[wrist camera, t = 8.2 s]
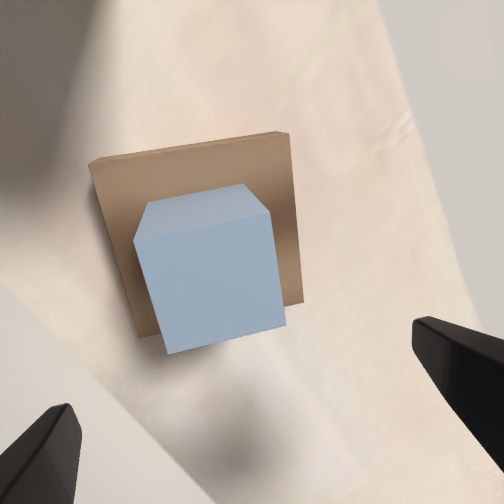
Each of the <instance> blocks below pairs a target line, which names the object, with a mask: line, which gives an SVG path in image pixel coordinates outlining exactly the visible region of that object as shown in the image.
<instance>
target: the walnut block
mask: <svg viewBox="0 0 504 504" xmlns="http://www.w3.org/2000/svg"><path fill="white" fill-rule="evenodd" d="M88 167H89V170H90V173H91V177H92V180H93V183H94V187H95V190H96V193H97V197H98V200H99V203H100V207H101V210H102V213H103V217H104V220H105V224H106V227H107V230H108V234H109V237H110V240H111V244H112V247H113V250H114V254H115V257H116V260H117V264H118V267H119V270H120V274H121V277H122V280H123V284H124V287H125V290H126V294H127V297H128V300H129V304H130V307H131V311H132V314H133V317H134V321H135V324H136V327H137V331H138V334H139V337H145V336H149V335H154V334H159V333H161V330H160V327H159V323H158V320H157V317H156V314H155V310H154V307H153V304H152V301H151V297H150V294H149V291H148V288H147V284H146V281H145V278H144V275H143V271H142V268H141V265H140V261H139V258H138V255H137V252H136V248H135V245H134V242H133V240H134V237H135V235H136V232H137V229H138V227H139V224H140V222H141V219H142V216H143V214H144V211H145V208H146V206H147V203H148V202H152V201H157V200H162V199H167V198H172V197H177V196H182V195H187V194H192V193H197V192H202V191H208V190H213V189H218V188H223V187H228V186H233V185H238V184H244V185H245V186H246V187H247V188H248V189H249V190H250V191H251V192H252V193H253V194H254V196H255V197H256V198H257V199H258V200H259V201H260V202H261V203H262V204H263V205H264V206H265V207H266V208H267V210H268V211H269V212H270V216H271V223H272V230H273V237H274V243H275V250H276V257H277V264H278V271H279V278H280V285H281V292H282V299H283V306H284V307H285V306H290V305H294V304H299V303H304V298H303V287H302V276H301V264H300V253H299V241H298V230H297V219H296V207H295V196H294V184H293V173H292V161H291V150H290V139H289V133H283V132H277V131H275V132H268V133H261V134H255V135H248V136H242V137H235V138H228V139H222V140H215V141H209V142H202V143H196V144H189V145H182V146H176V147H169V148H163V149H156V150H149V151H143V152H136V153H130V154H123V155H116V156H110V157H103V158H99V159H97V160H95V161H93V162H91V163H89V164H88Z"/></svg>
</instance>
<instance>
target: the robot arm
mask: <svg viewBox="0 0 504 504" xmlns="http://www.w3.org/2000/svg"><path fill="white" fill-rule="evenodd" d="M412 348H413V351H414V353H415V355H416V356H417V358H418V359H419V361H420V362H421V364H422V365H423V367H424V368H425V370H426V371H427V373H428V375H429V376H430V378H431V379H432V381H433V382H434V384H435V385H436V387H437V388H438V390H439V391H440V393H441V394H442V396H443V397H444V399H445V400H446V402H447V403H448V404H449V405H450V407H451V408H452V409H453V411H454V412H455V413H456V414H457V416H458V417H459V418H460V419H461V420H462V422H463V423H464V424H465V425H466V427H467V428H468V429H469V430H470V432H471V433H472V434H473V435H474V437H475V438H476V439H477V440H478V442H479V443H480V444H481V445H482V447H483V448H484V449H485V450H486V452H487V453H488V454H489V455H490V457H491V458H492V459H493V460H494V462H495V463H496V464H497V465H498V466H499V468H500V469H501V470H502V471H503V473H504V340H503V339H500V338H496V337H493V336H490V335H487V334H484V333H481V332H478V331H474V330H471V329H468V328H465V327H462V326H459V325H456V324H452V323H449V322H446V321H443V320H440V319H437V318H434V317H430V316H426V317H421V318H417V319H415V320H414V321H413V324H412ZM81 441H82V430H81V426H80V424H79V422H78V419H77V417H76V415H75V413H74V411H73V408H72V406H71V405H70V404H68V403H64V404H61V405H56V406H52V407H50V408H49V409H48V410H47V411H46V412H45V413H44V414H43V415H42V416H40V417H39V418H38V419H37V420H36V421H35V422H34V423H33V424H32V425H31V426H30V427H29V428H28V429H27V430H26V431H25V432H24V433H23V434H22V435H21V436H20V437H19V438H18V439H17V440H16V441H15V442H13V444H11V445H10V447H8V448H7V449H6V450H5V451H4V452H3V453H2V454H1V455H0V504H73V502H74V495H75V489H76V480H77V473H78V465H79V457H80V448H81Z"/></svg>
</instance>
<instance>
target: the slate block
mask: <svg viewBox="0 0 504 504" xmlns="http://www.w3.org/2000/svg"><path fill="white" fill-rule="evenodd" d="M133 242H134V245H135V248H136V252H137V255H138V258H139V261H140V265H141V268H142V271H143V275H144V278H145V281H146V284H147V288H148V291H149V294H150V297H151V301H152V304H153V307H154V310H155V314H156V317H157V320H158V323H159V327H160V330H161V333H162V336H163V340H164V343H165V346H166V350H167V353H168V355H169V354H173V353H177V352H181V351H185V350H189V349H193V348H197V347H201V346H205V345H209V344H213V343H218V342H222V341H226V340H230V339H234V338H238V337H242V336H246V335H250V334H254V333H258V332H262V331H266V330H270V329H274V328H278V327H282V326H286V319H285V312H284V306H283V299H282V292H281V285H280V278H279V271H278V264H277V257H276V250H275V243H274V237H273V230H272V223H271V216H270V212H269V211H268V210H267V208H266V207H265V206H264V205H263V204H262V203H261V202H260V201H259V200H258V199H257V198H256V197H255V196H254V194H253V193H252V192H251V191H250V190H249V189H248V188H247V187H246V186H245V185H244V184H238V185H233V186H228V187H223V188H218V189H213V190H208V191H202V192H197V193H192V194H187V195H182V196H177V197H172V198H167V199H162V200H157V201H152V202H148V203H147V206H146V208H145V211H144V214H143V216H142V219H141V222H140V224H139V227H138V229H137V232H136V235H135V237H134V240H133Z"/></svg>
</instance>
